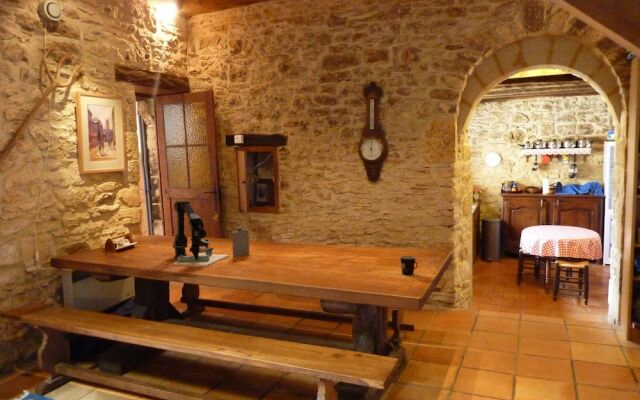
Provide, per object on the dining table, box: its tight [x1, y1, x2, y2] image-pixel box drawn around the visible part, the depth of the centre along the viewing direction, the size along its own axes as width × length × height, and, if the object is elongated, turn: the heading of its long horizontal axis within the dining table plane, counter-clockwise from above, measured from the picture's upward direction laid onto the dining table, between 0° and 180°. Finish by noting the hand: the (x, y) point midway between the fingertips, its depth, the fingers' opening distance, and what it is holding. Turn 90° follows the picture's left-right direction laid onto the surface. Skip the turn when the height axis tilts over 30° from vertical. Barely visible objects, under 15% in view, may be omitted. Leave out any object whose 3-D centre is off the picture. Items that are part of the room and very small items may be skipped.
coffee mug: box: [400, 255, 418, 276], centre depth 283 cm, size 12×9×10 cm
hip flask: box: [231, 226, 250, 258], centre depth 343 cm, size 16×4×20 cm, turn 150°
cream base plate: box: [172, 253, 229, 268], centre depth 329 cm, size 24×31×1 cm
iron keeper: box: [199, 246, 214, 256], centre depth 337 cm, size 12×6×5 cm, turn 144°
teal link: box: [177, 255, 210, 262], centre depth 323 cm, size 20×4×4 cm, turn 95°
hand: (196, 260), depth 320 cm, fingers closed
